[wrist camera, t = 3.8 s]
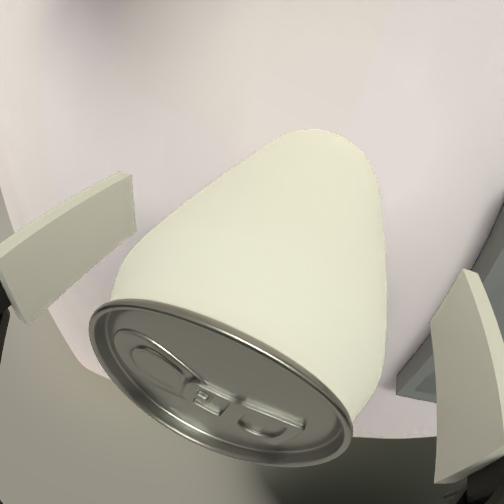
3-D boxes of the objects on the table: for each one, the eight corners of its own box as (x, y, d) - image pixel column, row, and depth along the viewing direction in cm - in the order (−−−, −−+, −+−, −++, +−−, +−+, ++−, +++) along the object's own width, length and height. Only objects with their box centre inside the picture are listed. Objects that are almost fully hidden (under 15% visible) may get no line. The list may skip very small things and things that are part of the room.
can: (279, 105, 13) (52, 200, 3) (402, 167, 12) (464, 412, 3) (239, 212, 17) (92, 383, 7) (341, 265, 16) (282, 483, 7)
